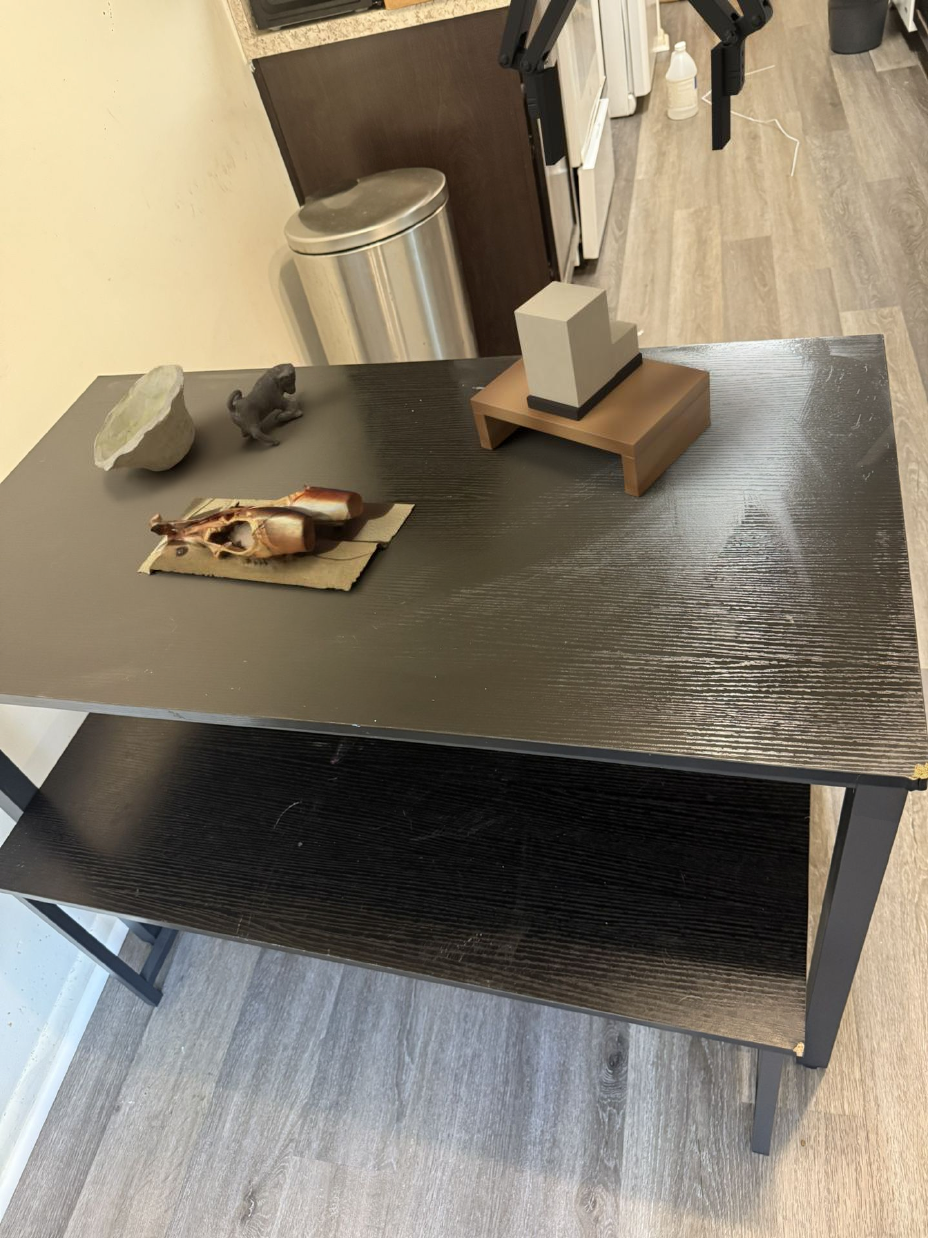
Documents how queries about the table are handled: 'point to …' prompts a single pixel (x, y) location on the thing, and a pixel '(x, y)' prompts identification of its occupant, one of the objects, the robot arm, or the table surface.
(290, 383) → the dog figurine
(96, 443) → the bowl
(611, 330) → the beige block black base
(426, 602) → the table surface
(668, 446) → the shoe shelf
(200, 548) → the ballet pointe shoes
